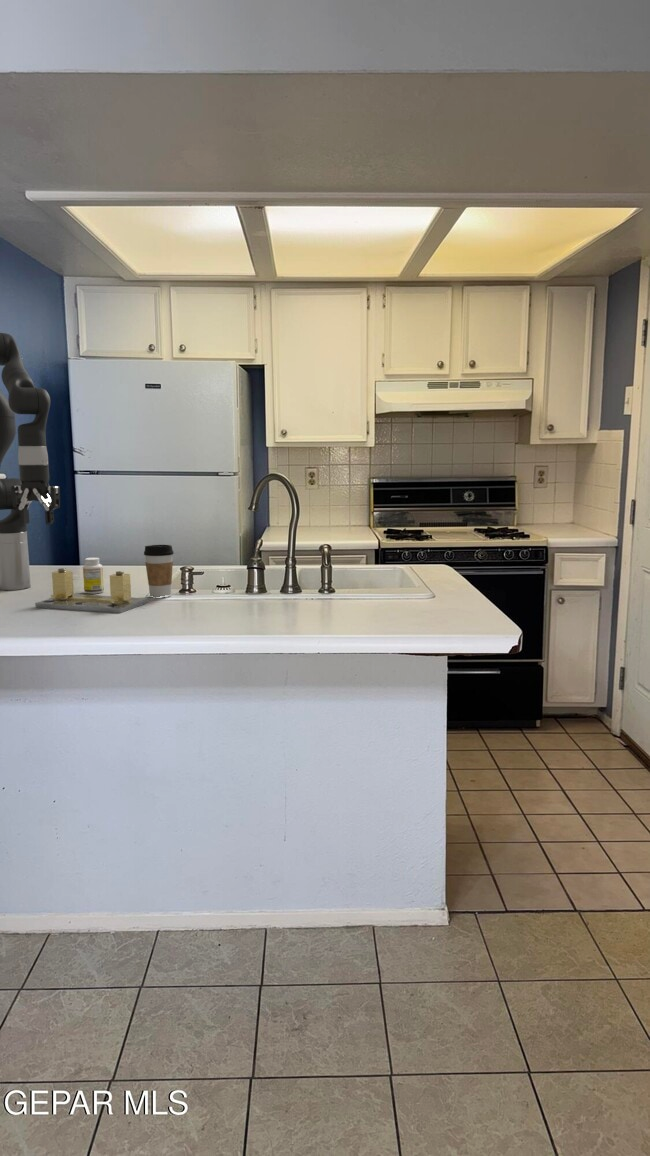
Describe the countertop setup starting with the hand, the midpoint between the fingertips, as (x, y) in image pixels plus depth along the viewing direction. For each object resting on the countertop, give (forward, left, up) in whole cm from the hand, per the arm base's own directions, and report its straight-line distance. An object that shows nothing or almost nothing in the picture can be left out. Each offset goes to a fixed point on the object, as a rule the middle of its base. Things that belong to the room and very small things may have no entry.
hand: (37, 523), depth 211 cm
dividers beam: (+16, -2, -21) cm, 26 cm away
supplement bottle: (+6, +16, -22) cm, 28 cm away
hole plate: (+16, 0, -22) cm, 27 cm away
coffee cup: (+28, +16, -22) cm, 39 cm away
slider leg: (+7, -1, -20) cm, 22 cm away
